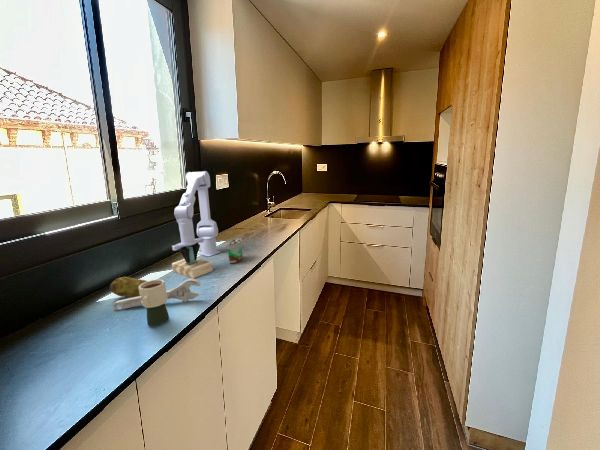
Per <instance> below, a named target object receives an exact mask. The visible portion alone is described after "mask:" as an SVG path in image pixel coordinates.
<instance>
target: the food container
mask: <svg viewBox="0 0 600 450" xmlns="http://www.w3.org/2000/svg"><path fill="white" fill-rule="evenodd" d="M243 246H244V242H243V240H242V239H241V238H238V237H237V238H232V241H231V242H230V243H229V244H226V250H227V253H228V260H229V261H228V262H229V265H235V264H239V263H241V262H242V261H243Z"/></svg>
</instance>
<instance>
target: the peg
mask: <svg viewBox="0 0 600 450" xmlns="http://www.w3.org/2000/svg"><path fill="white" fill-rule="evenodd" d="M186 248H187V249H189V259H190V263H188V265H192V264H195V258H194V251H193V247H189V246H188V247H186Z"/></svg>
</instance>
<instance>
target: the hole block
mask: <svg viewBox="0 0 600 450" xmlns="http://www.w3.org/2000/svg"><path fill="white" fill-rule="evenodd" d="M171 267H172V272H174V273H176V274H180V275H182V276H185V277H188V278H189V279H196V278H198V277H201V276H203V275H206V274H208V273H210V272H213V271H214V270H213V263H212V261H208V260H204V259H201V258H199V257H197V260H196V261H195V264H192V265H188V263H186V261H185V259H184V258H183V259H180V260H177V261H174V262H172V263H171Z"/></svg>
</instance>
